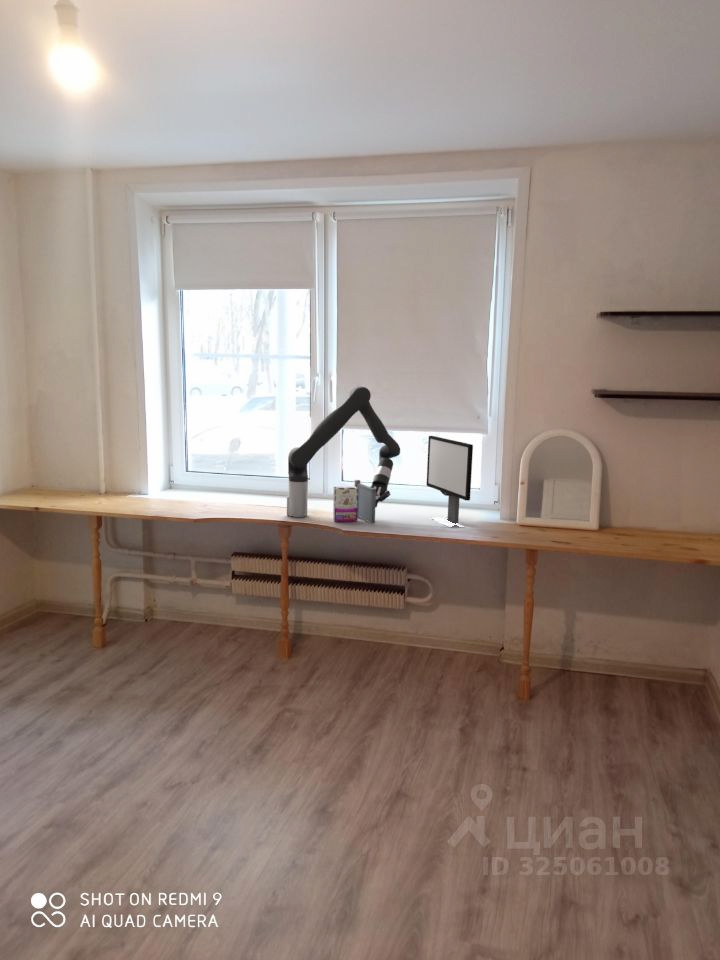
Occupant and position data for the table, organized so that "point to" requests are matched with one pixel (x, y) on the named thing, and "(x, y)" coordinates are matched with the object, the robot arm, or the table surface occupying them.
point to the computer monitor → (450, 471)
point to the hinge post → (356, 483)
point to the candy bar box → (345, 504)
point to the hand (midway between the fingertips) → (373, 507)
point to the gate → (366, 503)
